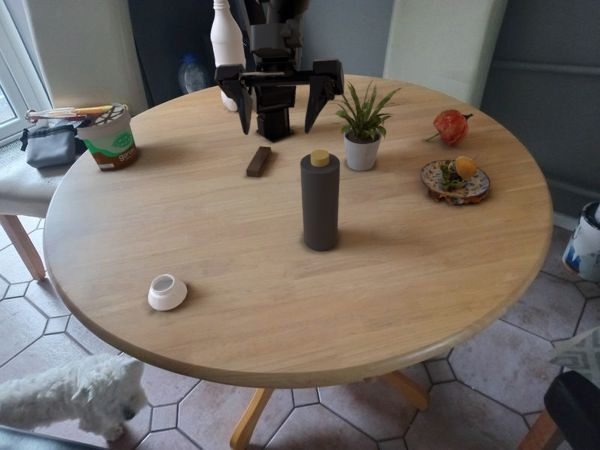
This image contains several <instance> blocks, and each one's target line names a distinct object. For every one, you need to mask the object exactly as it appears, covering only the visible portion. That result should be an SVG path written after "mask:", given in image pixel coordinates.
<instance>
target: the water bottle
mask: <svg viewBox="0 0 600 450" xmlns="http://www.w3.org/2000/svg"><path fill="white" fill-rule="evenodd" d="M229 3H230V2H229V0H213V9H214V19H213V23H212V26H211V31H210V41H211V44H212V49H213V55H214V61H215V62H214V63H215V67H216V68H217V67H218V66H219V65H224V64H241V63H242V65H243V66H244V68H245V69H246V68H247V67H246V66H247V65H246V64H247V59H246V56H245V48H244V41H243V32H242V30H241V28H240V27H239V25H238V23H237V22H236V20H235V19H234V17H233V15H232V13H231V10H230V9H231V5H230V4H229ZM220 95H221V101H222V104H223V105H224V106H225V107H226V109H228V110H229V111H231V112H238V109H237V105H236V103H235V102H234V101H233V100H232V99H230V98H227V96H226V95H225V94H224V92H223V91H222V90H221V89H220Z"/></svg>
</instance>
